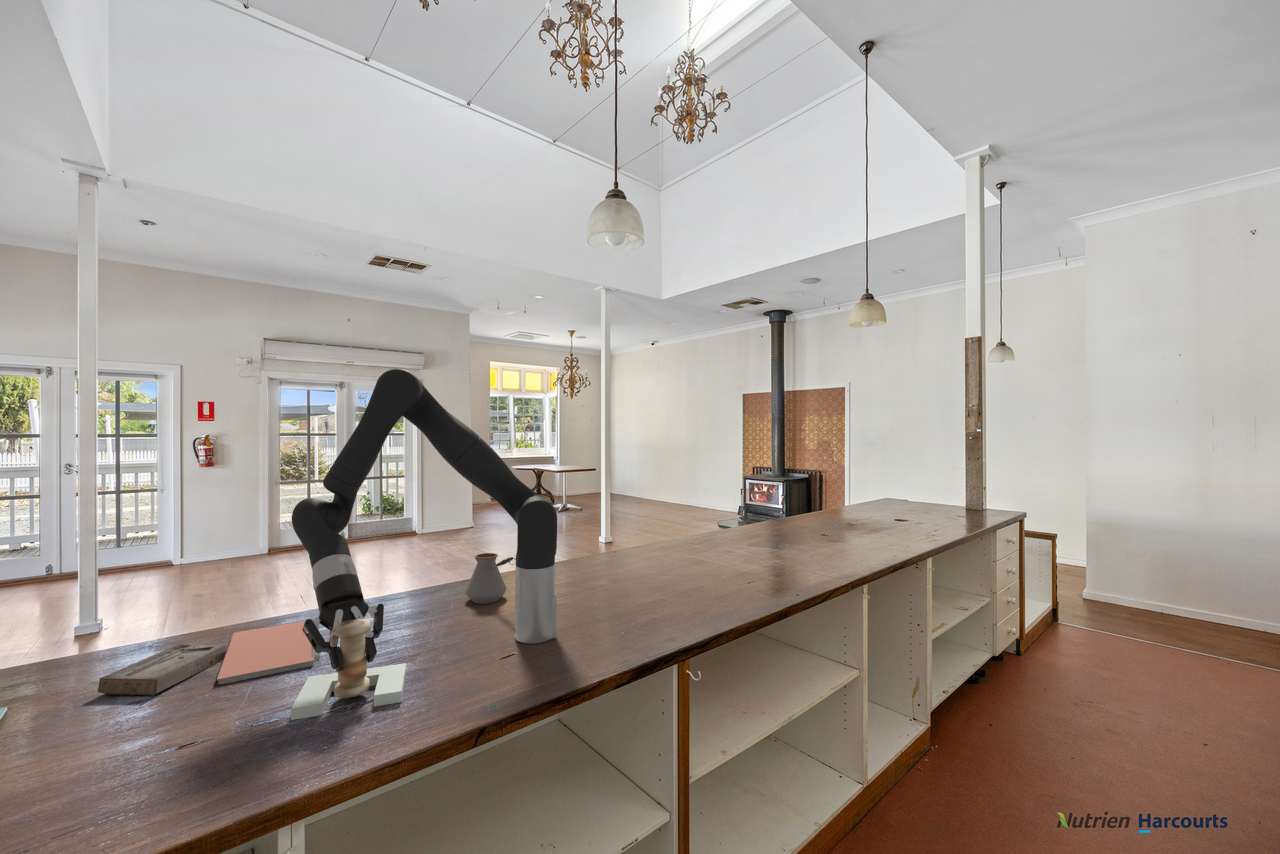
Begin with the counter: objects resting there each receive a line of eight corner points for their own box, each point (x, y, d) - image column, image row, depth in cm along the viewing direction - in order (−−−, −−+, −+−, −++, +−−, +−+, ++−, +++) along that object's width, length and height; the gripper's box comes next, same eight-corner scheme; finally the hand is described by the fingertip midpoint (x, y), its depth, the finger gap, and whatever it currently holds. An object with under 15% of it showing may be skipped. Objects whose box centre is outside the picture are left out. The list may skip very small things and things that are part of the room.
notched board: (406, 673, 104) (406, 663, 104) (401, 702, 93) (401, 691, 93) (308, 687, 98) (308, 676, 98) (291, 720, 87) (291, 708, 87)
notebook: (320, 667, 108) (320, 657, 108) (216, 688, 99) (216, 677, 99) (317, 625, 131) (318, 618, 131) (233, 639, 122) (233, 631, 122)
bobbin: (371, 680, 98) (372, 617, 98) (367, 694, 93) (367, 627, 93) (337, 685, 96) (338, 620, 96) (331, 700, 91) (332, 632, 91)
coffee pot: (458, 599, 151) (459, 547, 151) (494, 591, 159) (495, 542, 159) (493, 618, 136) (493, 561, 136) (531, 608, 143) (531, 554, 144)
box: (95, 695, 94) (97, 678, 94) (178, 657, 111) (179, 642, 112) (155, 697, 94) (156, 679, 95) (228, 658, 112) (229, 643, 112)
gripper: (297, 579, 95) (315, 667, 86) (380, 566, 105) (402, 642, 96) (290, 602, 98) (306, 688, 90) (370, 586, 109) (391, 662, 100)
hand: (356, 664), depth 93 cm, fingers closed on bobbin, 4 cm apart
